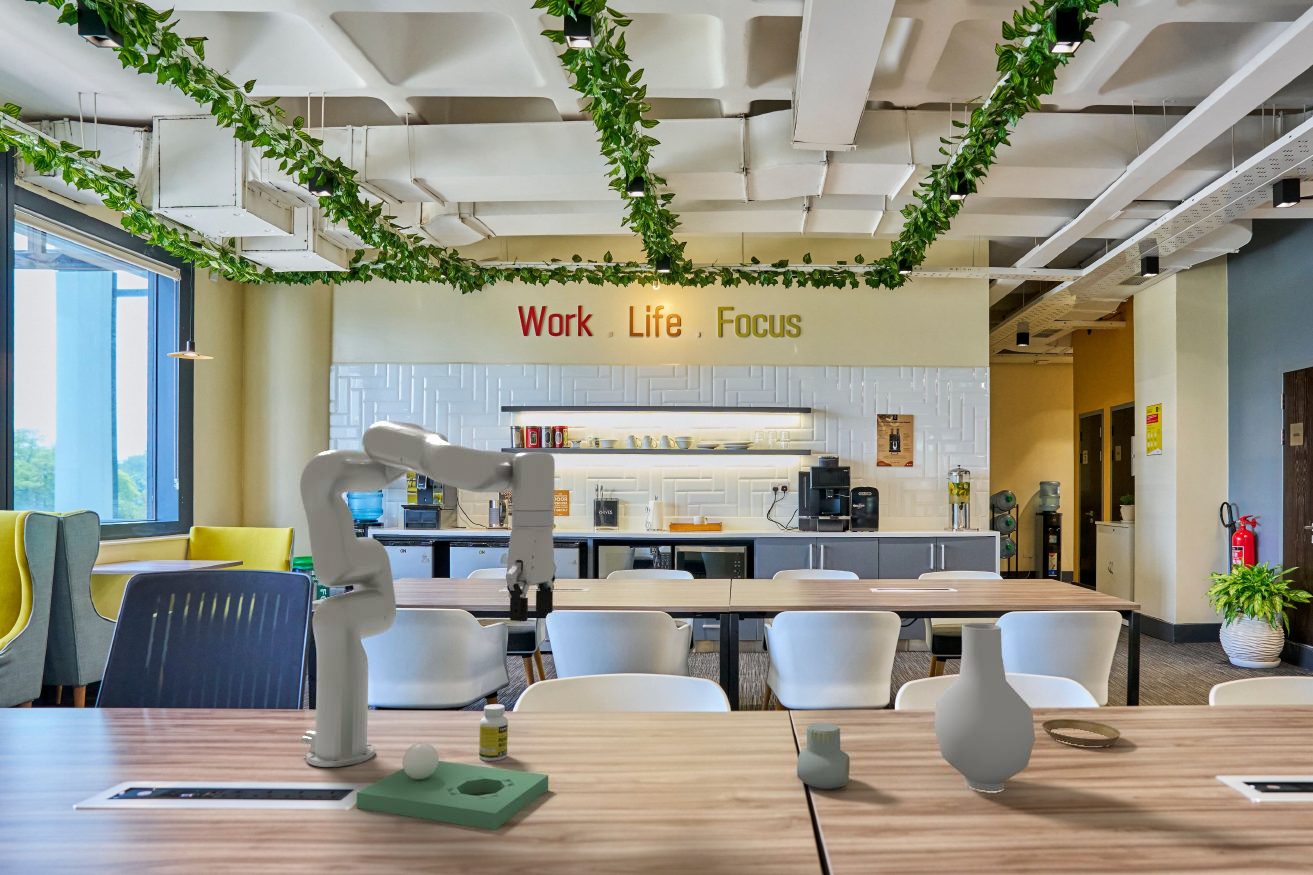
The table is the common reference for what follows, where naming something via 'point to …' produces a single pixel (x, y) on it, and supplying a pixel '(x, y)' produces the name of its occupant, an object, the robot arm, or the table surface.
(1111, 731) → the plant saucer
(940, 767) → the table surface
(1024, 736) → the vase
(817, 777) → the air freshener
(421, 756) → the ball
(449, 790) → the mat
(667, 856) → the table surface
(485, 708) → the supplement bottle
